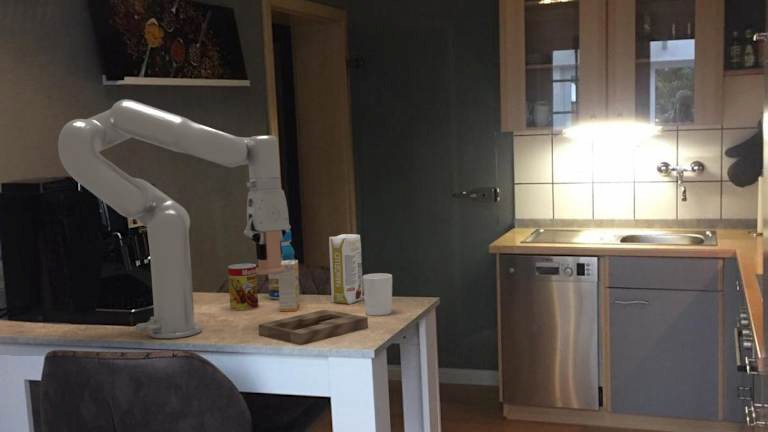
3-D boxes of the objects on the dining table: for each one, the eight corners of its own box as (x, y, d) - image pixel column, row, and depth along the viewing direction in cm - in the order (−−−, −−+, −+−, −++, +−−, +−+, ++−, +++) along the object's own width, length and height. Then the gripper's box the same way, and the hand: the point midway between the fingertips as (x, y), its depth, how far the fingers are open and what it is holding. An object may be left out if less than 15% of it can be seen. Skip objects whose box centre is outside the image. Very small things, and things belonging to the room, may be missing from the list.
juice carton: (366, 299, 237) (363, 234, 235) (350, 305, 229) (347, 237, 227) (344, 297, 240) (341, 233, 239) (328, 303, 233) (325, 237, 231)
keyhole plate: (300, 344, 186) (300, 333, 186) (259, 335, 197) (258, 324, 197) (367, 327, 201) (367, 317, 200) (325, 319, 212) (324, 309, 212)
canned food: (253, 310, 227) (250, 267, 226) (226, 310, 228) (223, 268, 227) (262, 304, 235) (260, 263, 234) (236, 305, 236) (233, 263, 235)
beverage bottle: (299, 298, 242) (295, 231, 240) (270, 301, 240) (267, 233, 238) (294, 293, 250) (291, 228, 248) (267, 296, 248) (263, 230, 246)
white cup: (360, 316, 214) (358, 278, 213) (368, 309, 222) (366, 273, 221) (389, 316, 212) (388, 278, 211) (396, 310, 220) (395, 273, 219)
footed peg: (267, 275, 201) (265, 227, 200) (250, 273, 206) (247, 225, 205) (290, 271, 206) (287, 224, 205) (272, 269, 211) (270, 223, 210)
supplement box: (297, 311, 224) (294, 263, 222) (279, 311, 224) (277, 264, 223) (300, 305, 232) (298, 259, 231) (283, 305, 232) (281, 260, 231)
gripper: (246, 188, 195) (251, 264, 197) (300, 183, 207) (304, 254, 209) (228, 187, 200) (233, 261, 202) (281, 183, 212) (285, 253, 214)
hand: (269, 257), depth 205 cm, fingers closed on footed peg, 4 cm apart
